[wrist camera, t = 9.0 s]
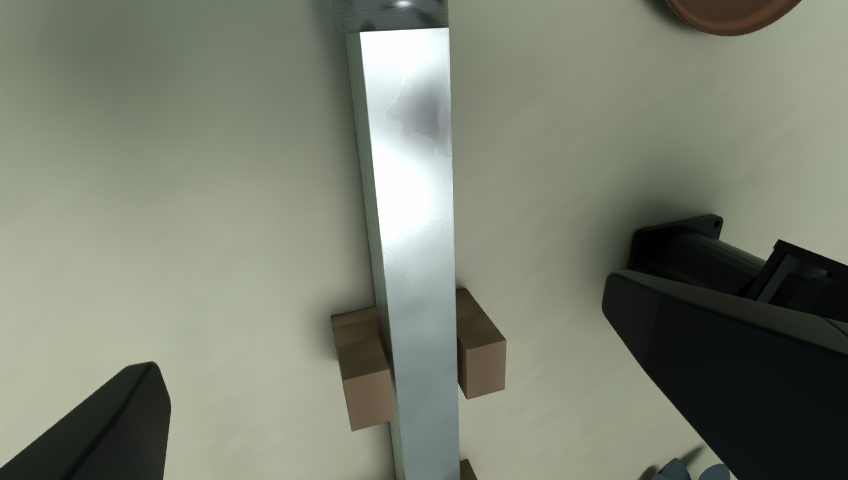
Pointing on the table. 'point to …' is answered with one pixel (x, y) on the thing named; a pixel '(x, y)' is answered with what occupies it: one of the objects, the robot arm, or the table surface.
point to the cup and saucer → (730, 14)
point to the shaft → (409, 216)
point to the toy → (677, 475)
